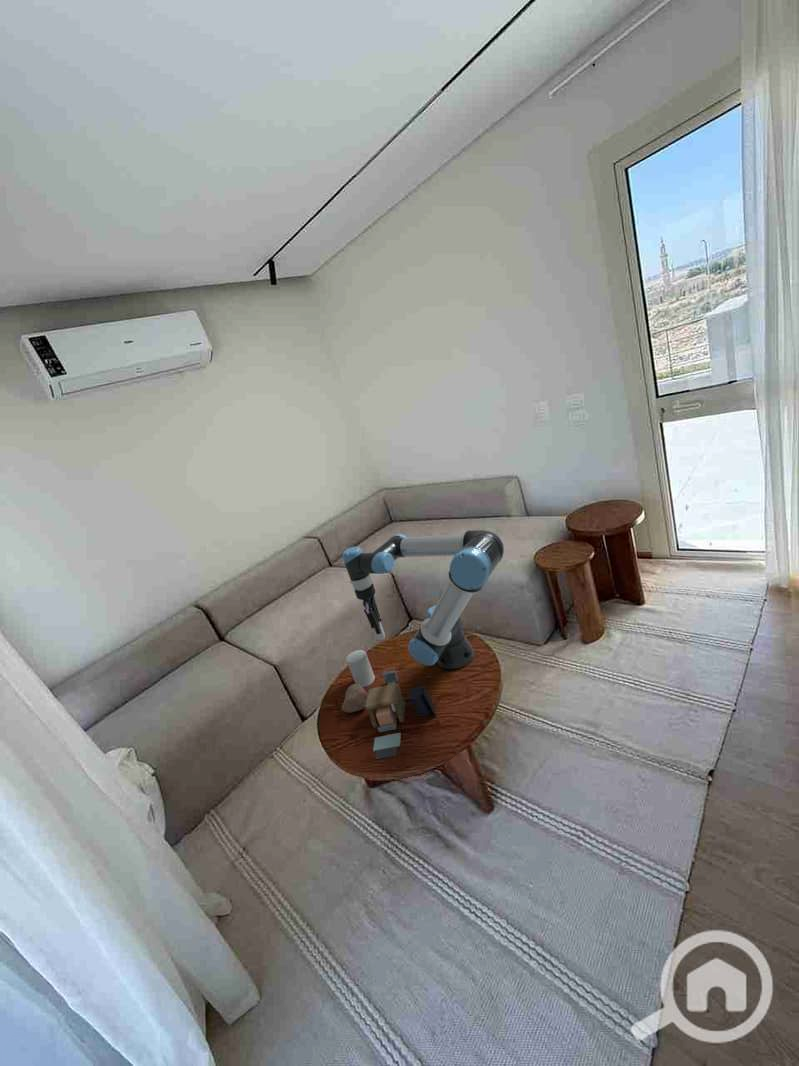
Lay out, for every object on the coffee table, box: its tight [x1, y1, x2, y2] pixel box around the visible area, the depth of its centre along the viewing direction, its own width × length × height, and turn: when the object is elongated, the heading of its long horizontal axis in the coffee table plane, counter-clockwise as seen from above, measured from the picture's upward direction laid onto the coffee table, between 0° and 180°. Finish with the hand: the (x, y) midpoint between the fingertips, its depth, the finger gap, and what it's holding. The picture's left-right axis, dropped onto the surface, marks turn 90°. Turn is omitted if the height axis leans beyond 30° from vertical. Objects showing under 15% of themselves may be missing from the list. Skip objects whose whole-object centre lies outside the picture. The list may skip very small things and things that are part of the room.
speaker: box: [408, 683, 437, 717], centre depth 150 cm, size 8×6×10 cm
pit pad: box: [374, 747, 398, 760], centre depth 139 cm, size 7×3×1 cm, turn 87°
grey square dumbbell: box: [377, 669, 399, 733], centre depth 159 cm, size 6×26×5 cm, turn 177°
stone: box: [341, 683, 368, 713], centre depth 165 cm, size 12×9×10 cm
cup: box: [345, 649, 376, 688], centre depth 177 cm, size 8×8×12 cm
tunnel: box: [365, 682, 406, 728], centre depth 154 cm, size 11×9×9 cm
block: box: [376, 705, 394, 726], centre depth 150 cm, size 5×5×5 cm
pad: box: [372, 732, 402, 752], centre depth 144 cm, size 9×6×1 cm, turn 87°
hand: (381, 638), depth 173 cm, fingers closed
